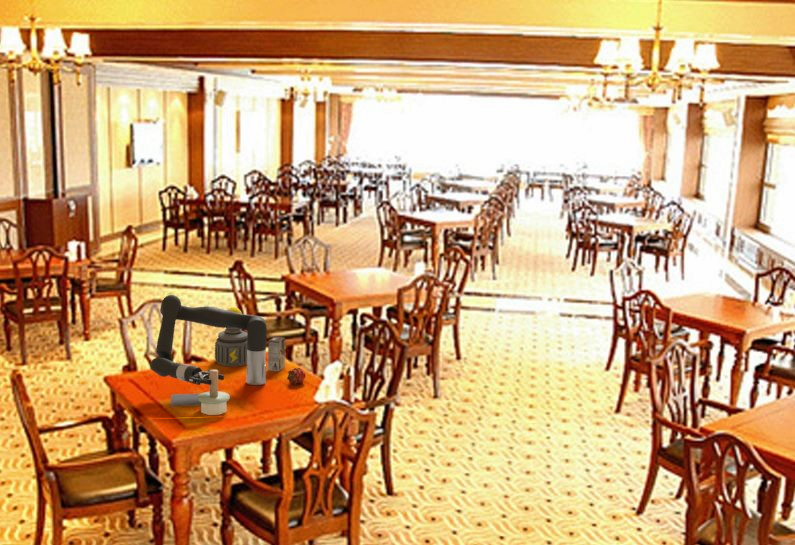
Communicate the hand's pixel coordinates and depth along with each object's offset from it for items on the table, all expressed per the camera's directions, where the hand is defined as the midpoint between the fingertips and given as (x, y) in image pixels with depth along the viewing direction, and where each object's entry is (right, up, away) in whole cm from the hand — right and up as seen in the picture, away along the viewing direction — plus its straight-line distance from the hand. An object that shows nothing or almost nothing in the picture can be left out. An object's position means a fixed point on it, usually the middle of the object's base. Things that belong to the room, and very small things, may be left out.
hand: (217, 380), depth 382 cm
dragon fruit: (+29, -8, +48) cm, 57 cm away
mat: (-16, -11, +16) cm, 25 cm away
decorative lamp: (-8, 0, +77) cm, 77 cm away
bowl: (-2, -14, +4) cm, 15 cm away
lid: (-2, -9, +3) cm, 9 cm away
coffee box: (+16, -3, +69) cm, 71 cm away
